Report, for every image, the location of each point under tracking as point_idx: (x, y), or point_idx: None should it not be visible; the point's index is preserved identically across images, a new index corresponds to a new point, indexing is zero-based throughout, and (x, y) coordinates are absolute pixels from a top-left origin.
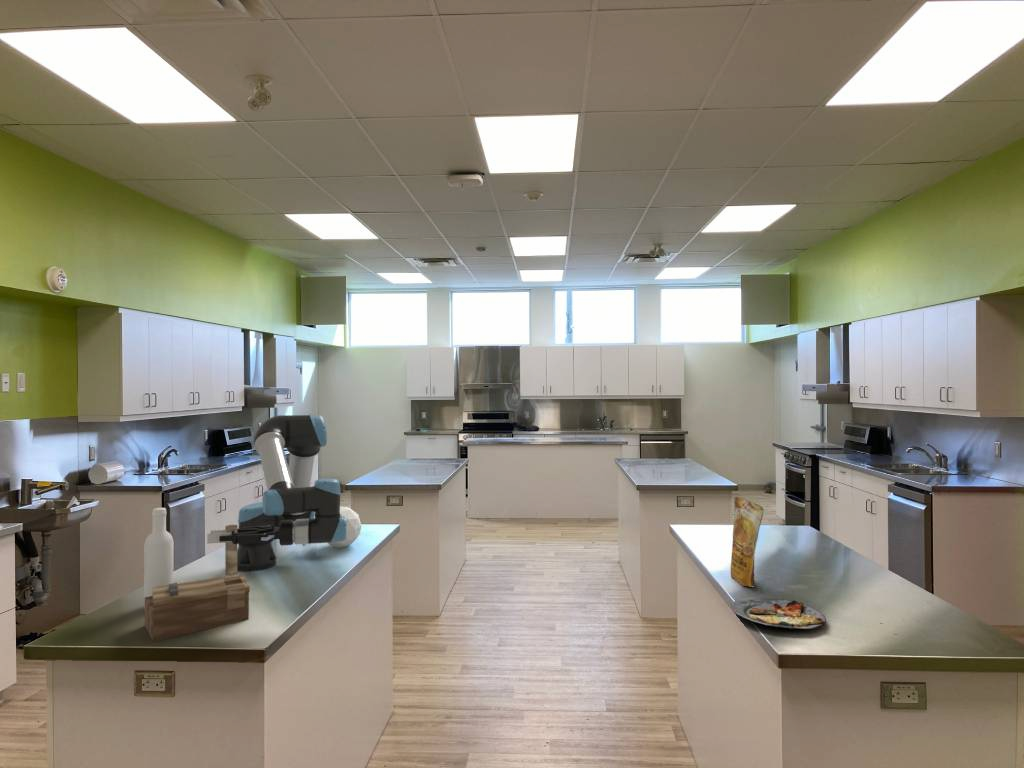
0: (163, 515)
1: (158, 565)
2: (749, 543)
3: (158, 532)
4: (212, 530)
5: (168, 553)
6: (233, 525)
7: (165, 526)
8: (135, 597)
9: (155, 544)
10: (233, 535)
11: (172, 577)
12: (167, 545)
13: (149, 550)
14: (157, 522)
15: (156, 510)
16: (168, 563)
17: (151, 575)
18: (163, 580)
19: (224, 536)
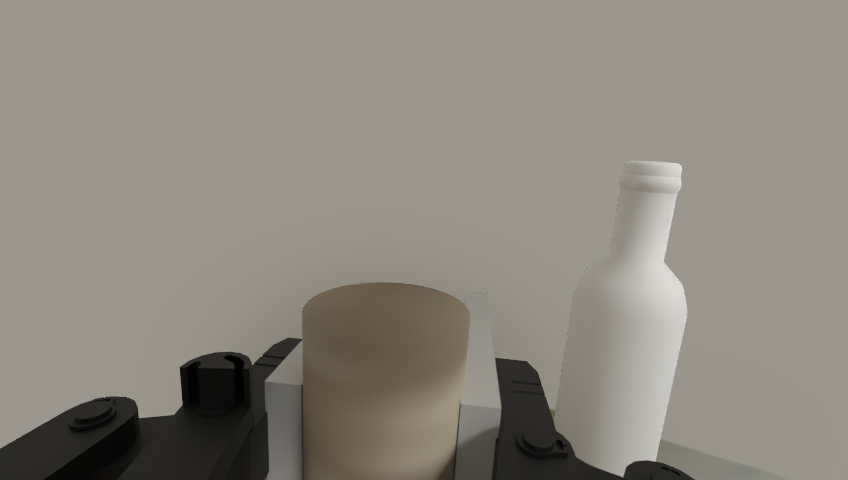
0: (640, 190)
1: (568, 374)
2: None
3: (612, 256)
4: (486, 296)
5: (606, 355)
6: (405, 319)
7: (646, 243)
8: (665, 453)
9: (577, 292)
10: (101, 400)
11: (617, 462)
12: (606, 319)
13: (571, 306)
14: (617, 214)
15: (626, 163)
16: (598, 393)
17: (558, 393)
18: (571, 440)
19: (259, 361)
